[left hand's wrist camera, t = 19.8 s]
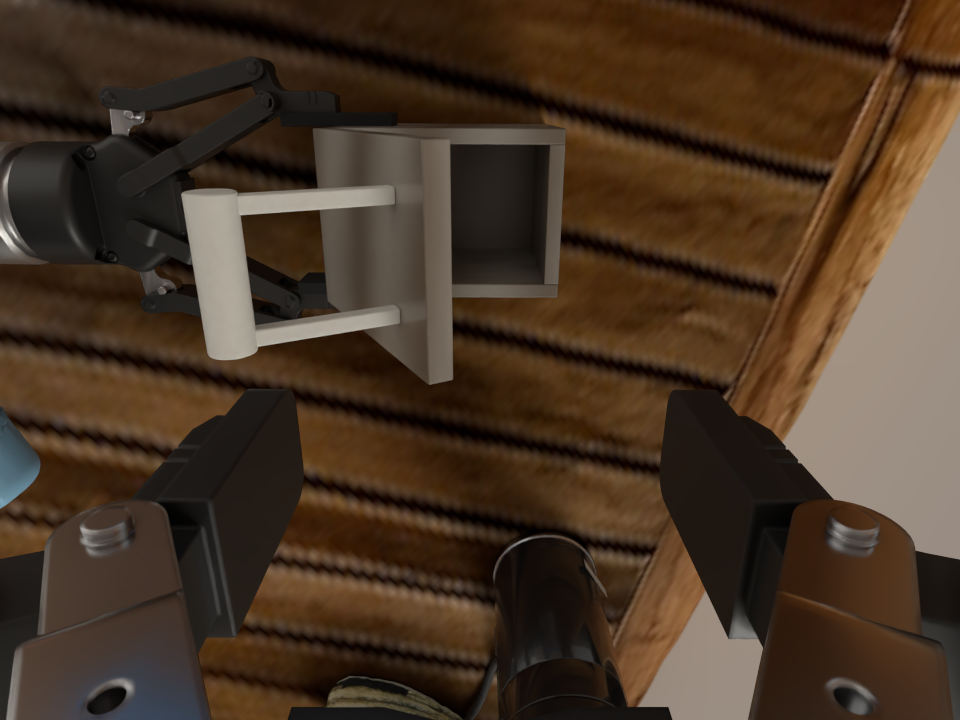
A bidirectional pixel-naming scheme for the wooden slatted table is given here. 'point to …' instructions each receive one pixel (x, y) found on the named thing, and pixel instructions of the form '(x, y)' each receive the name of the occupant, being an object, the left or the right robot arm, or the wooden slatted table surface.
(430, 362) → the lid
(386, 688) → the fossil
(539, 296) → the chest
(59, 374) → the wooden slatted table surface
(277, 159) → the wooden slatted table surface
